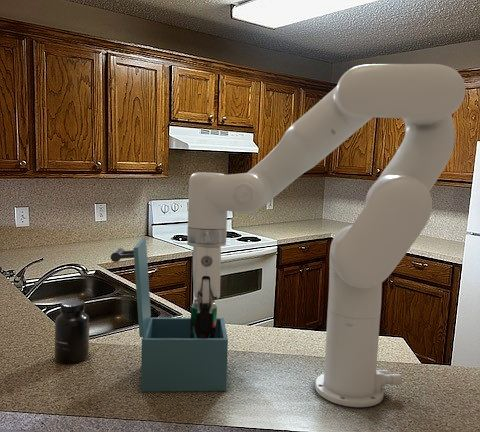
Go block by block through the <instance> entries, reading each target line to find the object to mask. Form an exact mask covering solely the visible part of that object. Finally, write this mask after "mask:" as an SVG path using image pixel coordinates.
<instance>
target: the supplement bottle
mask: <svg viewBox="0 0 480 432" xmlns="http://www.w3.org/2000/svg"><path fill="white" fill-rule="evenodd" d="M59 312H60V314H59V315H58V316H56V318H55V322H54V359H55V361H57V363H60V364H69V365H70V364H77V363H80V362H83V361H86V359H87V358H88V357H89V354H90V353H89V352H90V317H89V315H88V314H87V313H85V312H86V302H85V301H84V300H81V299H69V300H64V301H62V302H60V310H59Z"/></svg>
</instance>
